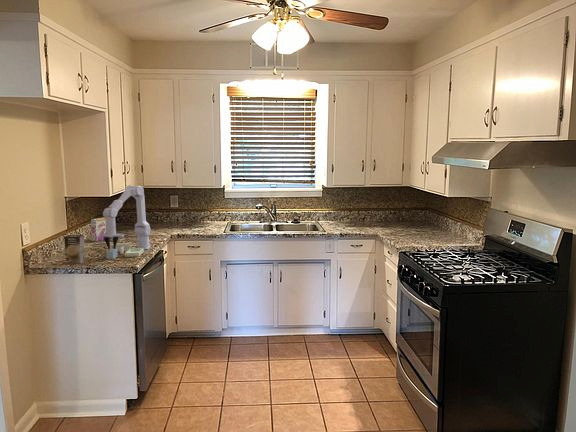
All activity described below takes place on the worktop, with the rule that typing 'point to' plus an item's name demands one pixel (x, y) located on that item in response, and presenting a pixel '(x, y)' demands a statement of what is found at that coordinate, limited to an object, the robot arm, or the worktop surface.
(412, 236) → the worktop surface
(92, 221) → the candy bar box
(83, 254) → the coffee box
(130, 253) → the tray
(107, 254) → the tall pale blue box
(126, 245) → the stand
